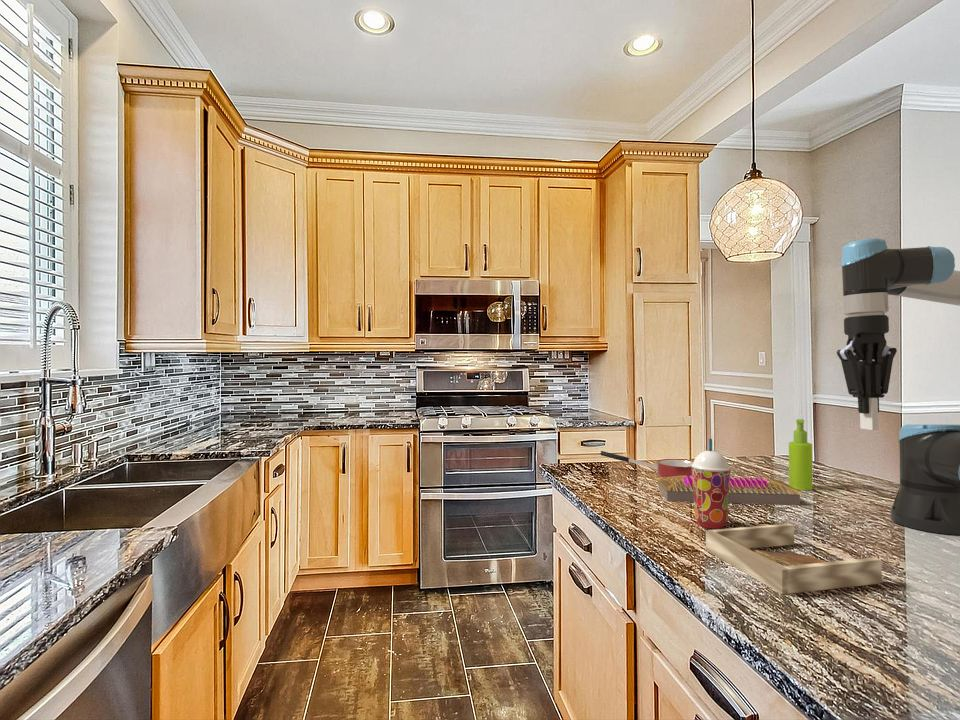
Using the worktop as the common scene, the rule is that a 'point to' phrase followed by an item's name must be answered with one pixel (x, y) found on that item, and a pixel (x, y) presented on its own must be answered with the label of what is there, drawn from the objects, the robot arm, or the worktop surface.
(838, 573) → the box
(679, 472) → the frying pan
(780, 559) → the shard
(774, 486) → the pink bristle brush
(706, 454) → the smoothie
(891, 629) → the worktop surface
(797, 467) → the soap dispenser
